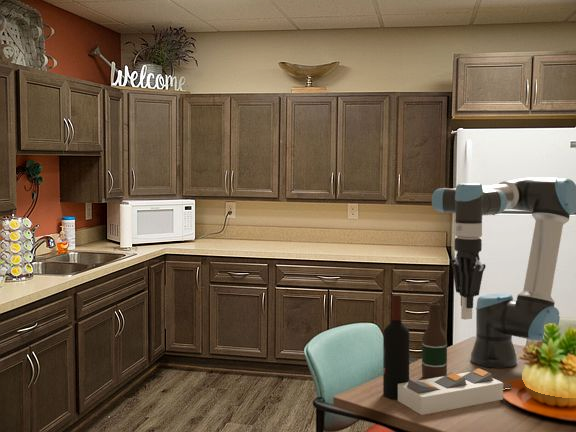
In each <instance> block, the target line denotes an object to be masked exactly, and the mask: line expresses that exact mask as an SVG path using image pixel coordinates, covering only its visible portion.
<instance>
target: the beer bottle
mask: <svg viewBox="0 0 576 432" xmlns="http://www.w3.org/2000/svg"><path fill="white" fill-rule="evenodd" d="M428 307H429V313H428V323H427V324H428V325H427V328H426V329H425V331H424V333H423V335H422V340H421V376H422V377H423V378H424V379H430V378H436V377H442V376H446V375H448V373H447V370H448V362H447V361H448V339H447V336H446V333H445V331H444V330H443V327H442V324H441V323H442V322H441V319H442V318H441V303H439V302H435V301H434V302H430V303H429V304H428Z"/></svg>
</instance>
